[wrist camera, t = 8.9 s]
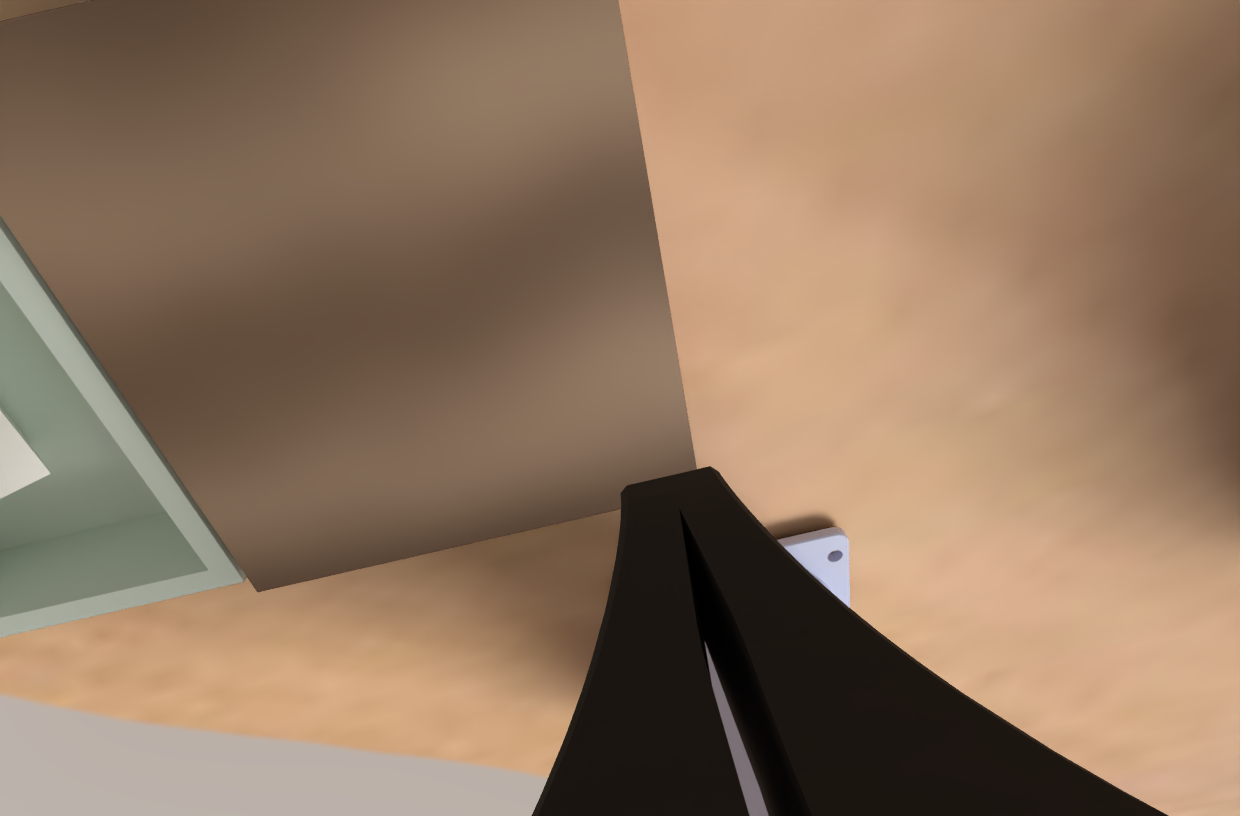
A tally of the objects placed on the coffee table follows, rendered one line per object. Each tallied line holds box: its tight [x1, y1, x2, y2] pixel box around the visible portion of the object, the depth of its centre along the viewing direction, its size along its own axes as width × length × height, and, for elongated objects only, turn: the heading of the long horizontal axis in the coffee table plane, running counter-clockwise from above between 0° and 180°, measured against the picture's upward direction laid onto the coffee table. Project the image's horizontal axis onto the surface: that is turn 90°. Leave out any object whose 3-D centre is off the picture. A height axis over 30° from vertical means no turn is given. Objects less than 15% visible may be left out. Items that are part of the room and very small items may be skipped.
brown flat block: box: [0, 0, 697, 592], centre depth 15 cm, size 12×11×4 cm
